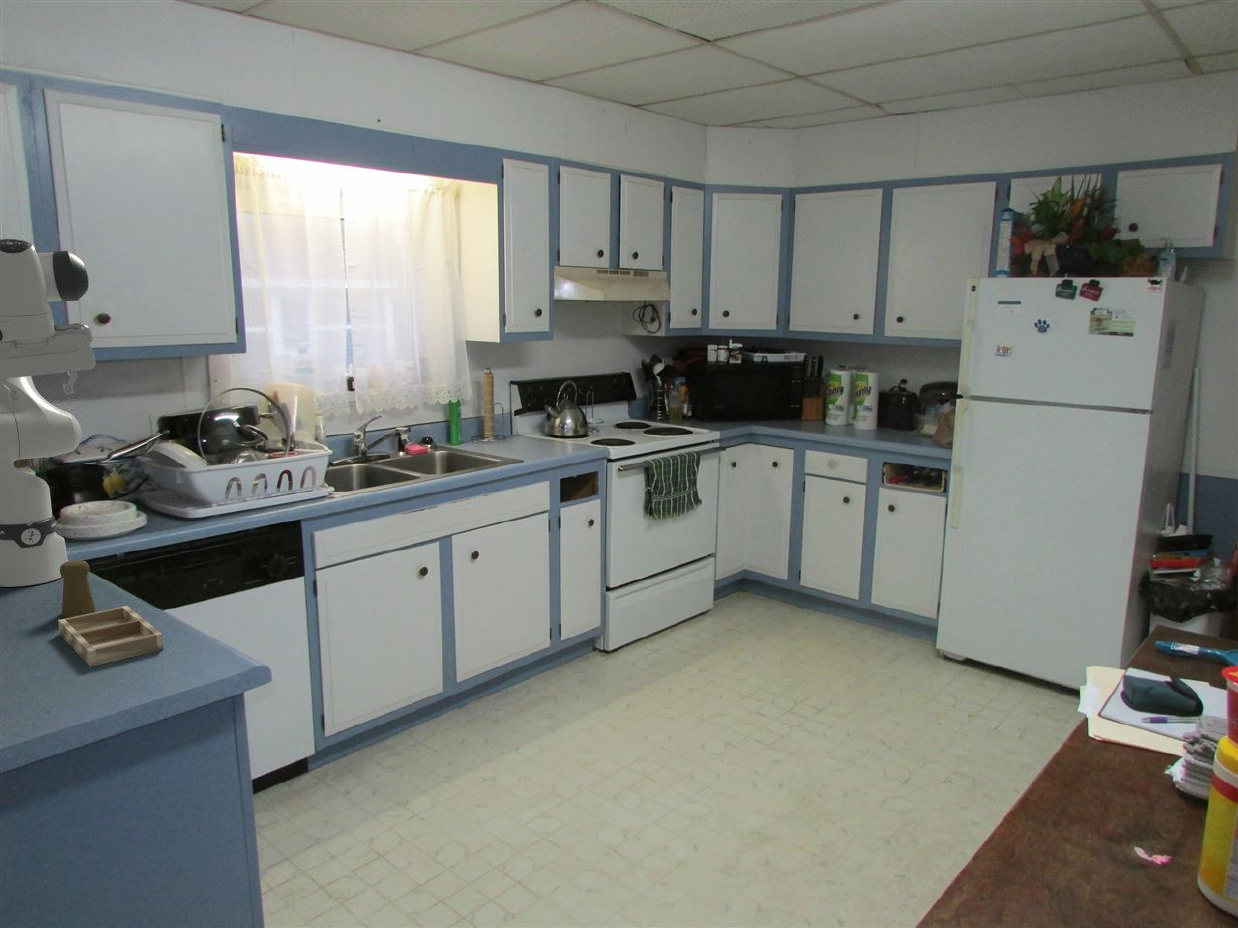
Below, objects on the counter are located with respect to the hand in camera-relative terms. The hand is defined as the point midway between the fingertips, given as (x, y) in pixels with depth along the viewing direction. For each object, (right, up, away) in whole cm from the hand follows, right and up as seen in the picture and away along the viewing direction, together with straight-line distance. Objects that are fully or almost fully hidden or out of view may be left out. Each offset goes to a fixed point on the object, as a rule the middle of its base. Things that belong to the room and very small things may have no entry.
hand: (41, 396), depth 168 cm
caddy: (+18, -47, -7) cm, 51 cm away
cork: (+2, -44, +8) cm, 45 cm away
